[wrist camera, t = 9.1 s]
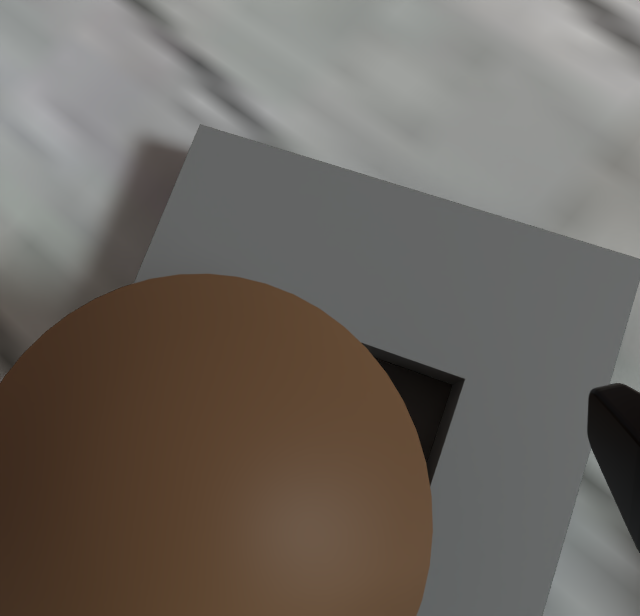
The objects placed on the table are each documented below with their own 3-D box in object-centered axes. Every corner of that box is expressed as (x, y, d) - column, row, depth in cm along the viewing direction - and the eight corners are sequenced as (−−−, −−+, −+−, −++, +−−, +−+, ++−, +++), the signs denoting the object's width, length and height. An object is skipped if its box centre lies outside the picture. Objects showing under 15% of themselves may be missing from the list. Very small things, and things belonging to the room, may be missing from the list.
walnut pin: (395, 507, 17) (459, 780, 4) (266, 515, 17) (-59, 793, 4) (383, 376, 17) (407, 253, 5) (259, 385, 18) (-37, 294, 5)
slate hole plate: (454, 796, 15) (469, 867, 13) (41, 608, 17) (-15, 640, 15) (607, 283, 17) (645, 260, 15) (222, 162, 19) (199, 124, 17)
